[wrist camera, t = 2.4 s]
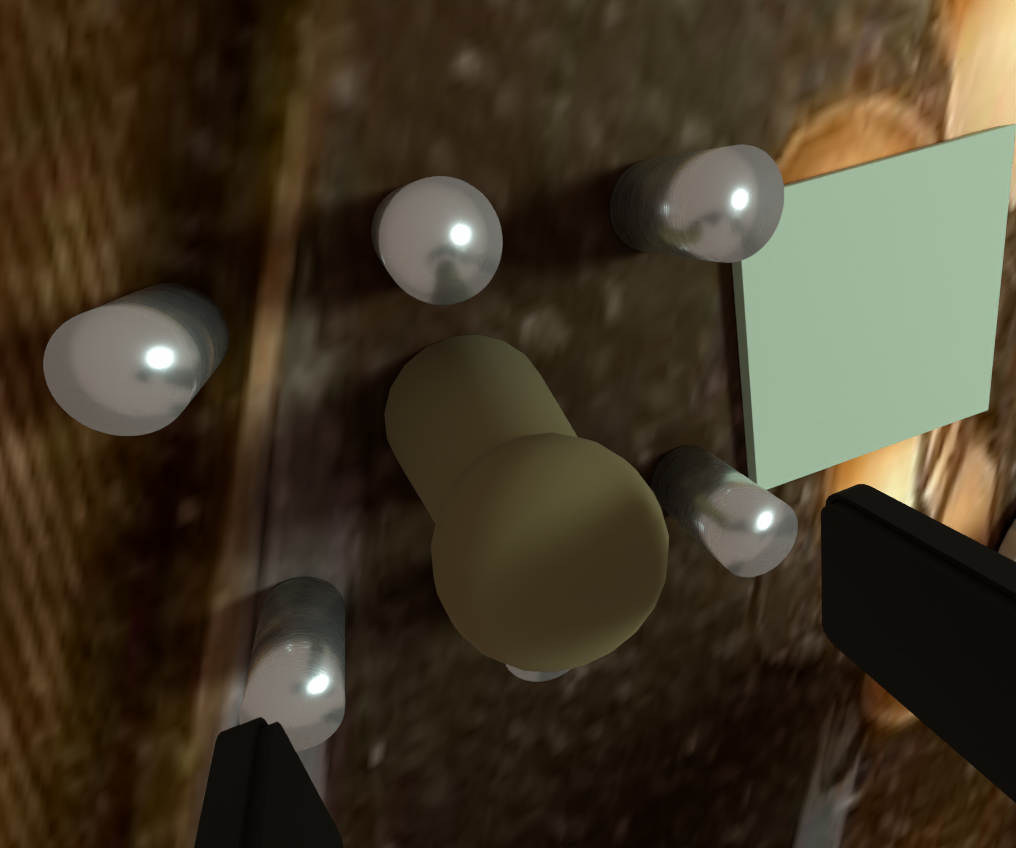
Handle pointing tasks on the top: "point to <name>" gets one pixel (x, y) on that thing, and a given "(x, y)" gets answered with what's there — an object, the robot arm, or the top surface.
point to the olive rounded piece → (523, 509)
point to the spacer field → (437, 280)
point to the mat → (873, 305)
